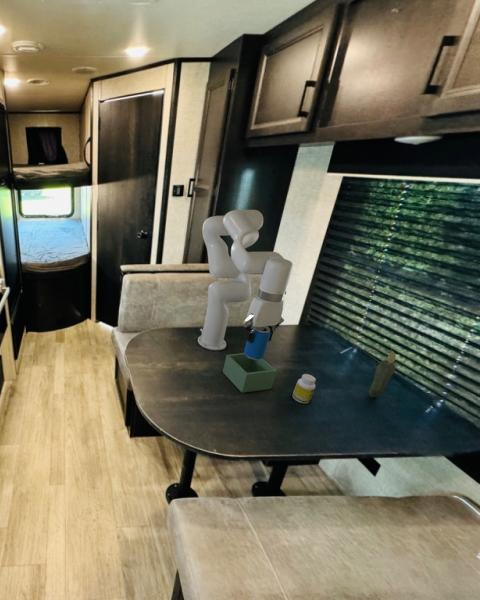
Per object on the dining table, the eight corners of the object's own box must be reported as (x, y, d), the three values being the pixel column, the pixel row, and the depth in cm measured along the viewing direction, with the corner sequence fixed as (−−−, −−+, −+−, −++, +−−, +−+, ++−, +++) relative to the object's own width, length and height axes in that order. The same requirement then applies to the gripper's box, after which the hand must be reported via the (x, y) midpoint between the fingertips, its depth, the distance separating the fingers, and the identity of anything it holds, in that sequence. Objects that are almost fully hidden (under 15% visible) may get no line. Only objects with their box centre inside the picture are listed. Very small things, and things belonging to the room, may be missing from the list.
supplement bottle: (309, 406, 111) (317, 384, 107) (291, 399, 114) (299, 378, 110) (310, 397, 115) (318, 376, 111) (292, 391, 118) (300, 370, 114)
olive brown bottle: (380, 403, 113) (404, 357, 104) (365, 399, 114) (388, 354, 106) (376, 395, 116) (399, 350, 108) (361, 392, 118) (383, 347, 109)
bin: (222, 372, 129) (226, 354, 126) (249, 368, 131) (254, 351, 127) (241, 392, 118) (246, 374, 114) (271, 388, 120) (277, 370, 116)
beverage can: (261, 363, 111) (269, 334, 106) (241, 356, 115) (249, 328, 110) (264, 354, 116) (273, 326, 111) (245, 348, 119) (253, 321, 114)
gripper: (285, 288, 109) (271, 332, 117) (240, 292, 107) (229, 336, 115) (302, 297, 103) (286, 343, 110) (254, 301, 100) (242, 348, 108)
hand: (257, 339), depth 112 cm, fingers closed on beverage can, 6 cm apart
